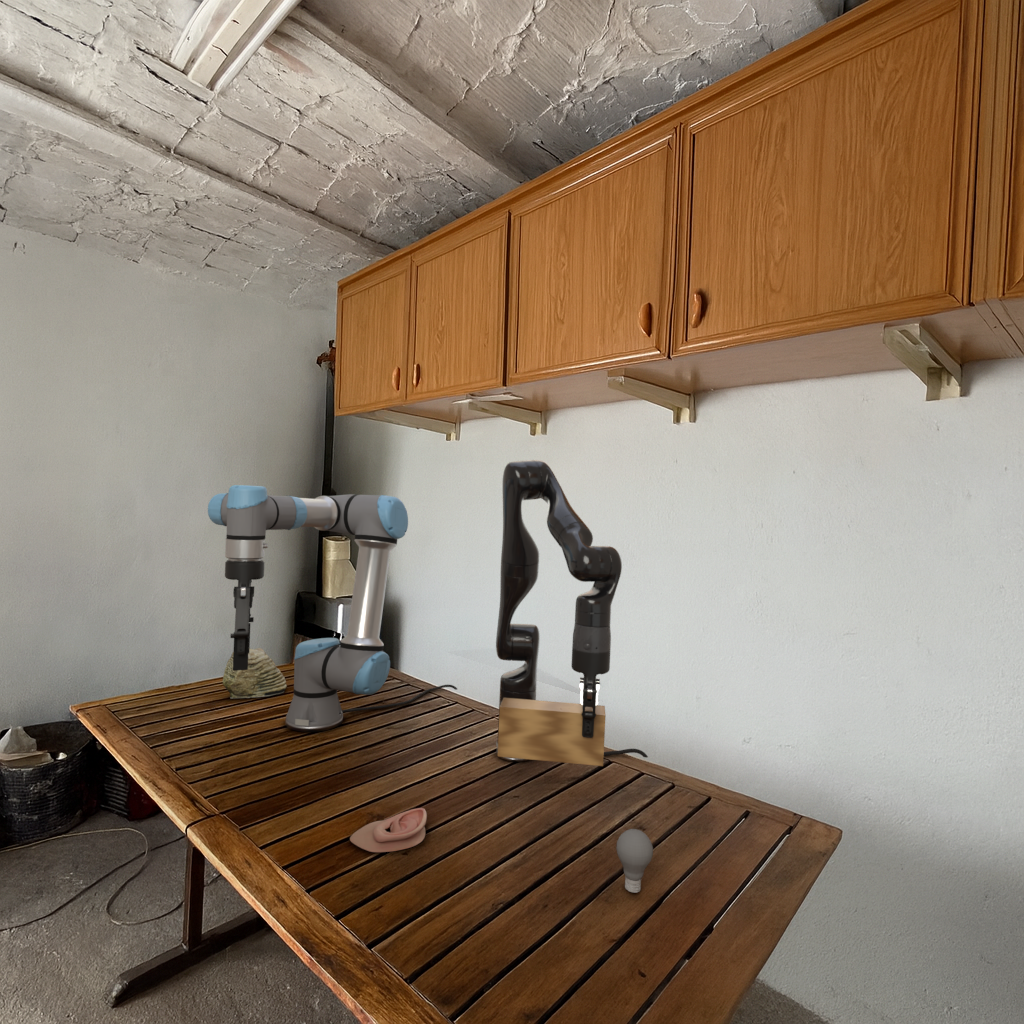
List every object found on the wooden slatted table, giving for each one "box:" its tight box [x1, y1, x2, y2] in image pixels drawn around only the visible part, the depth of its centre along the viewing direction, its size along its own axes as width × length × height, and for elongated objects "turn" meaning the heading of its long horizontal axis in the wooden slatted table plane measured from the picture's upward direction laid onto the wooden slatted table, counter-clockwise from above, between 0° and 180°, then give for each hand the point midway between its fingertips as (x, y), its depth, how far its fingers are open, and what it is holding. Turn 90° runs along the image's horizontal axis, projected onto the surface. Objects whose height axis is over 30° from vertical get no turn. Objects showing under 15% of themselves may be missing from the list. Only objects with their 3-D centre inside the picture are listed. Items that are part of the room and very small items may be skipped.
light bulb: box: [615, 828, 654, 894], centre depth 106 cm, size 6×6×10 cm
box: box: [497, 698, 606, 767], centre depth 126 cm, size 21×6×10 cm, turn 83°
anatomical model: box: [349, 807, 428, 853], centre depth 119 cm, size 13×4×12 cm
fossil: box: [222, 647, 288, 699], centre depth 198 cm, size 9×18×15 cm, turn 132°
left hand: (241, 661), depth 132 cm, fingers open, 13 cm apart
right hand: (587, 730), depth 126 cm, fingers closed on box, 5 cm apart
